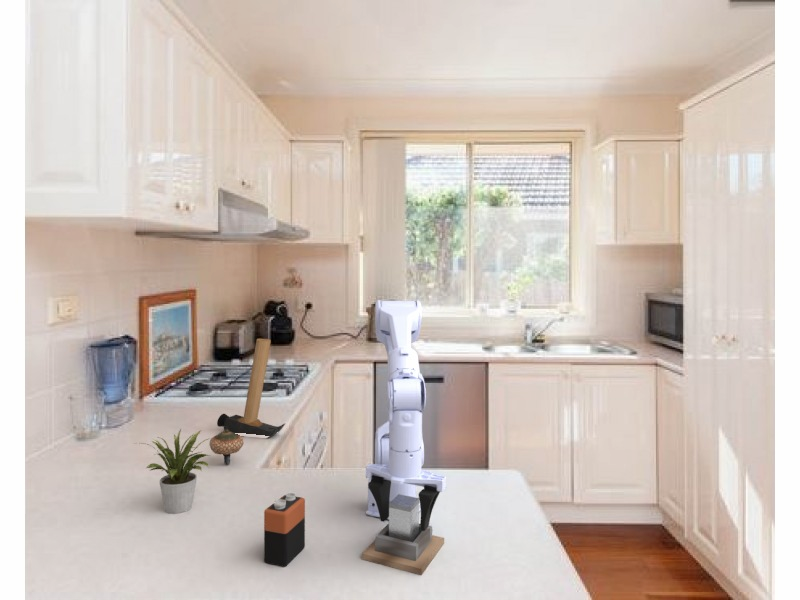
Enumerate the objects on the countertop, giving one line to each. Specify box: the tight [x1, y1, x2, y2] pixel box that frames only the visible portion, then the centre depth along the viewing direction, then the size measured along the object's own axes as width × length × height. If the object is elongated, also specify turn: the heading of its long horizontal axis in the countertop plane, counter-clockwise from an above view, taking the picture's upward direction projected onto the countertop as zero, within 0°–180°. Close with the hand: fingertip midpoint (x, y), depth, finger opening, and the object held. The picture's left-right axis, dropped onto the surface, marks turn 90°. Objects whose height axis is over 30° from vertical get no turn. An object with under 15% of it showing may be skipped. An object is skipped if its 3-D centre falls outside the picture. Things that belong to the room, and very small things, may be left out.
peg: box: [388, 494, 420, 542], centre depth 89 cm, size 4×4×8 cm
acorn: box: [209, 427, 245, 466], centre depth 129 cm, size 8×8×10 cm
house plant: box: [133, 428, 212, 515], centre depth 103 cm, size 14×14×16 cm
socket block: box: [361, 522, 445, 576], centre depth 89 cm, size 11×11×4 cm
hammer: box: [216, 338, 286, 438], centre depth 154 cm, size 20×5×30 cm, turn 75°
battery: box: [263, 492, 306, 567], centre depth 87 cm, size 4×7×10 cm, turn 162°
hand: (404, 523), depth 89 cm, fingers open, 7 cm apart
